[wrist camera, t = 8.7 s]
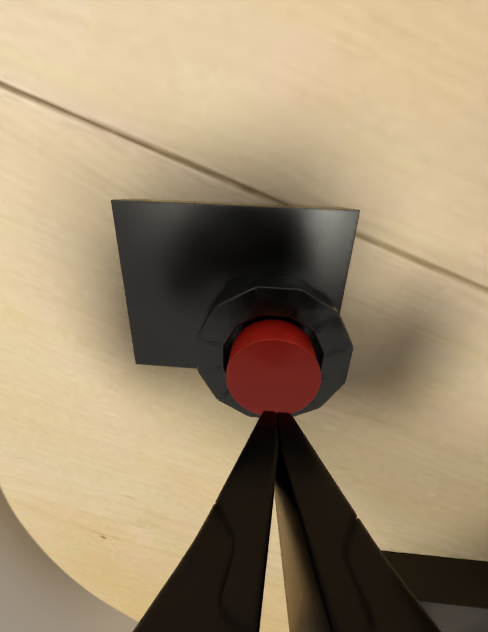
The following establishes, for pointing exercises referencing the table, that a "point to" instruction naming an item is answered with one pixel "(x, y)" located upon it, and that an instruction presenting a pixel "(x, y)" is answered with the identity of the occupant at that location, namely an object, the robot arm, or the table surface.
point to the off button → (273, 368)
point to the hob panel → (446, 589)
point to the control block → (233, 282)
